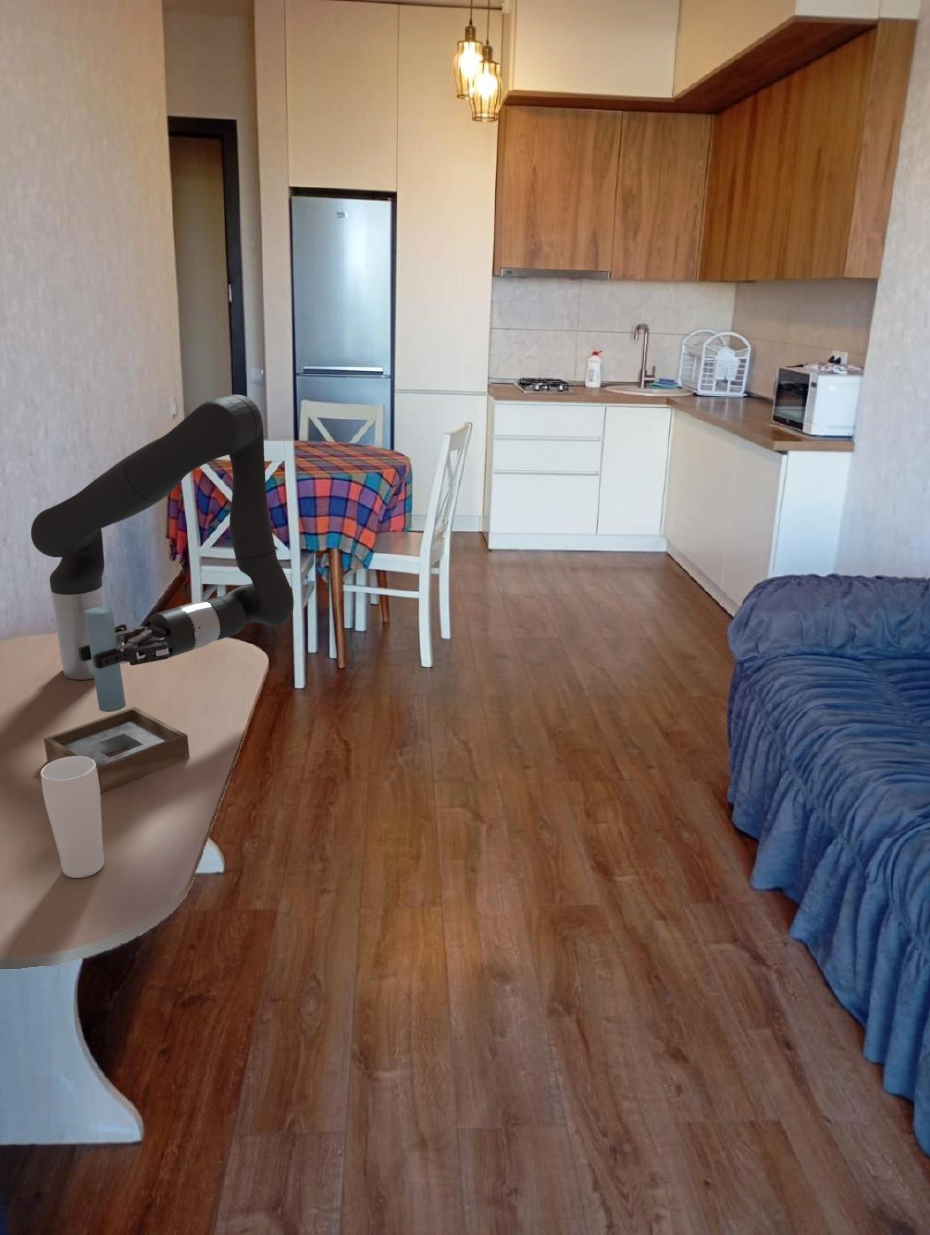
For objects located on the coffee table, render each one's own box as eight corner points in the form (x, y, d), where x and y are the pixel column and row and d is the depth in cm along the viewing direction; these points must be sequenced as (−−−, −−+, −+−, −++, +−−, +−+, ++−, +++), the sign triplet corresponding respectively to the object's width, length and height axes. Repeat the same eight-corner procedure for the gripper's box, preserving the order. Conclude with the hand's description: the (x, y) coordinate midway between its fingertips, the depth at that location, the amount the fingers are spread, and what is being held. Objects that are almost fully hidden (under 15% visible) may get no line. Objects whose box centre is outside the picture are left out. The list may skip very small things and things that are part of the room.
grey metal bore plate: (54, 760, 161) (52, 746, 160) (135, 730, 171) (133, 717, 170) (100, 790, 152) (97, 776, 151) (182, 757, 162) (181, 743, 161)
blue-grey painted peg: (94, 707, 158) (79, 611, 152) (117, 698, 161) (103, 605, 155) (107, 714, 155) (92, 617, 150) (130, 705, 158) (117, 610, 153)
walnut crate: (47, 760, 161) (43, 738, 159) (137, 727, 172) (134, 706, 170) (97, 794, 150) (94, 771, 149) (189, 757, 162) (187, 734, 160)
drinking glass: (47, 869, 132) (30, 768, 127) (95, 848, 137) (80, 750, 132) (71, 889, 128) (55, 786, 123) (120, 867, 133) (106, 766, 127)
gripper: (158, 598, 168) (61, 625, 156) (207, 616, 159) (107, 647, 147) (163, 639, 171) (68, 669, 159) (211, 660, 161) (114, 693, 150)
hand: (88, 658), depth 153 cm, fingers closed on blue-grey painted peg, 4 cm apart
